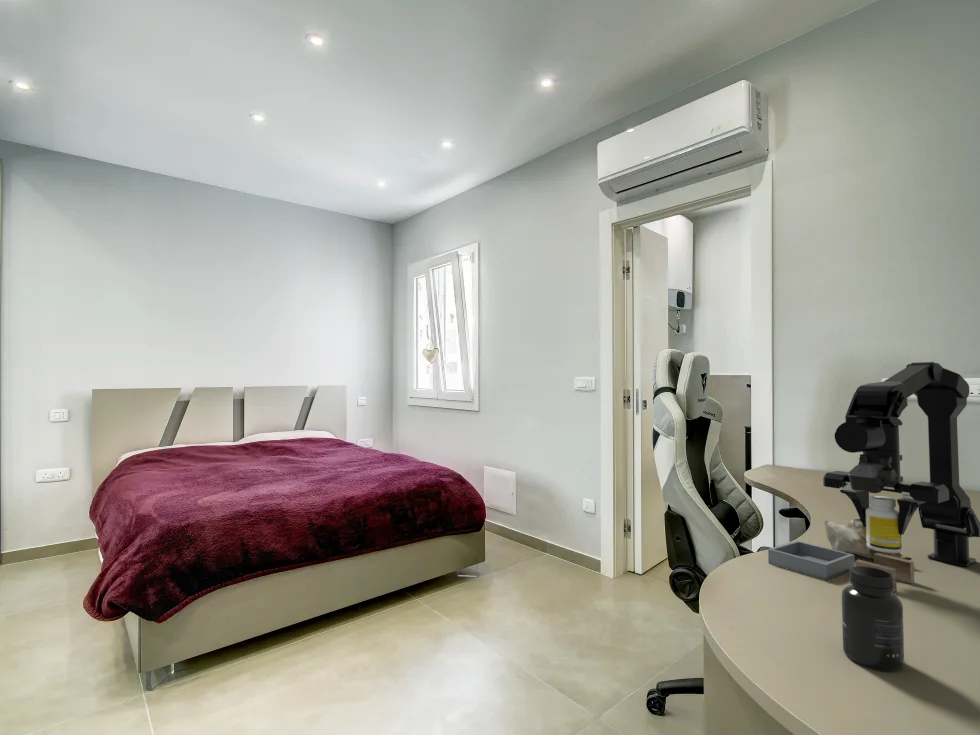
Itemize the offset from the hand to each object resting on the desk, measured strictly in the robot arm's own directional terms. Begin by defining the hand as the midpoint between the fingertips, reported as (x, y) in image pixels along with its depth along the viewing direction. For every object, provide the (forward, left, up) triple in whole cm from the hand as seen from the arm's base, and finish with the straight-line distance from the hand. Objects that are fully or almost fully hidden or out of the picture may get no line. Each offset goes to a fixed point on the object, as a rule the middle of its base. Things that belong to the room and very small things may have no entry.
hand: (883, 530), depth 98 cm
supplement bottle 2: (+34, +12, -10) cm, 37 cm away
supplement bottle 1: (0, 0, -4) cm, 4 cm away
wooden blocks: (0, 0, -10) cm, 10 cm away
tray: (+3, -12, -10) cm, 16 cm away
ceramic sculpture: (-14, -9, -10) cm, 19 cm away
